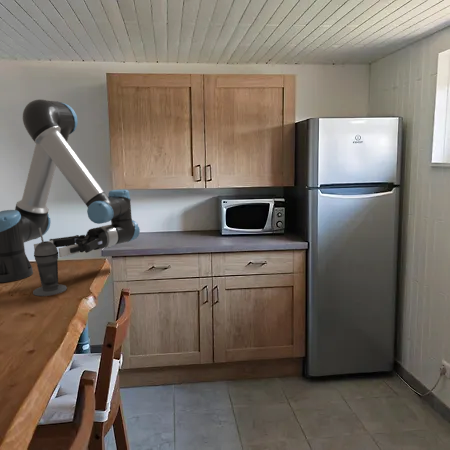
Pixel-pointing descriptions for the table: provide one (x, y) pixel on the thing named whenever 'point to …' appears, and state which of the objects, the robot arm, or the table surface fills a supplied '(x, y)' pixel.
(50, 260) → the beverage cup
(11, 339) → the table surface
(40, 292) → the coaster
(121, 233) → the robot arm
